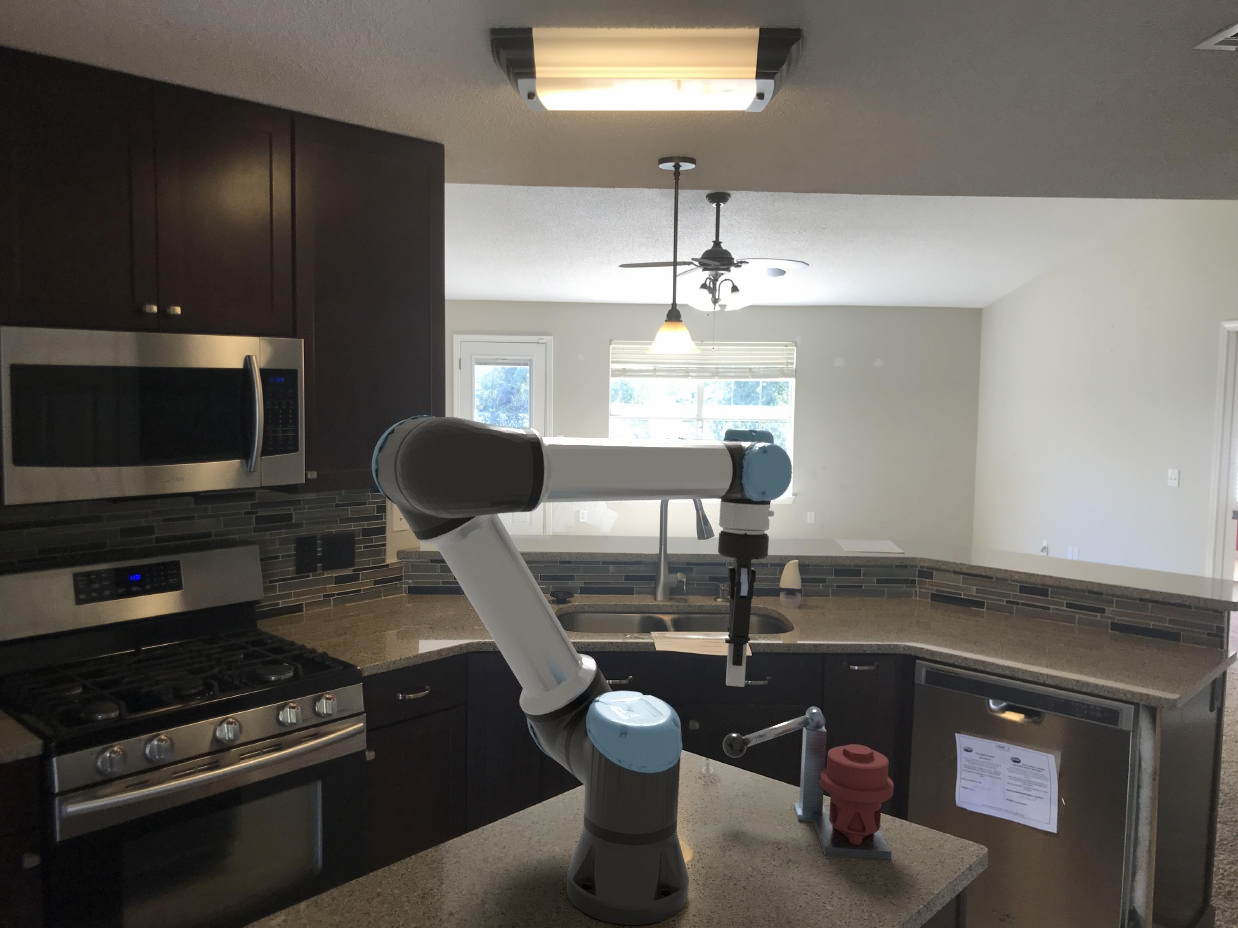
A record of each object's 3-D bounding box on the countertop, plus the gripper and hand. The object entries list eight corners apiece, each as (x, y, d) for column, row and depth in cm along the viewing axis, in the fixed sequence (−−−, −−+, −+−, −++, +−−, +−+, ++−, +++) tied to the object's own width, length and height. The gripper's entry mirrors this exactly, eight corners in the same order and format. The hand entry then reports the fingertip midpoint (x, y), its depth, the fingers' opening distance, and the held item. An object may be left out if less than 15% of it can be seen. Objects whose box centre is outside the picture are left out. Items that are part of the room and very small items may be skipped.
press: (808, 853, 116) (813, 757, 116) (793, 807, 131) (798, 721, 130) (891, 860, 115) (896, 763, 115) (867, 812, 130) (871, 726, 130)
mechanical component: (886, 822, 124) (894, 855, 114) (816, 814, 126) (819, 845, 116) (890, 740, 124) (899, 766, 114) (820, 733, 125) (823, 757, 116)
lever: (728, 764, 127) (720, 742, 127) (727, 755, 131) (718, 733, 131) (829, 730, 126) (820, 707, 126) (824, 721, 130) (816, 700, 130)
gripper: (773, 537, 121) (764, 699, 122) (764, 527, 134) (755, 674, 135) (721, 533, 121) (712, 695, 122) (717, 525, 134) (708, 671, 135)
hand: (735, 684), depth 128 cm, fingers closed
